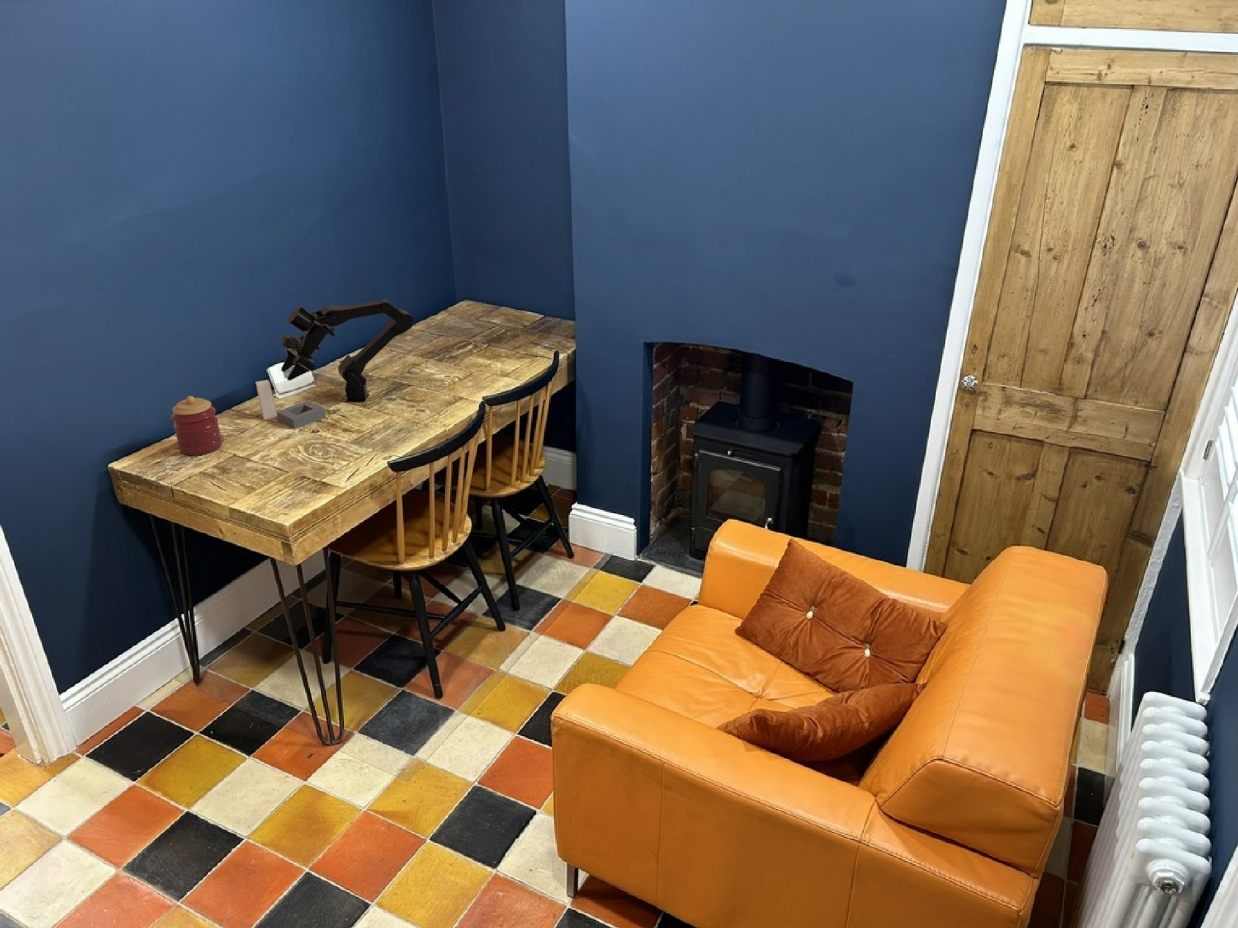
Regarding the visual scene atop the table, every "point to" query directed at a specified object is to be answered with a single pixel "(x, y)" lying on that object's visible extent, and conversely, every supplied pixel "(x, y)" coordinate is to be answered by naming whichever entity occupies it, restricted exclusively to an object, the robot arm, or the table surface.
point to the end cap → (301, 414)
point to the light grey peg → (266, 399)
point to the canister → (196, 426)
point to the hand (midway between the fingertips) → (285, 375)
